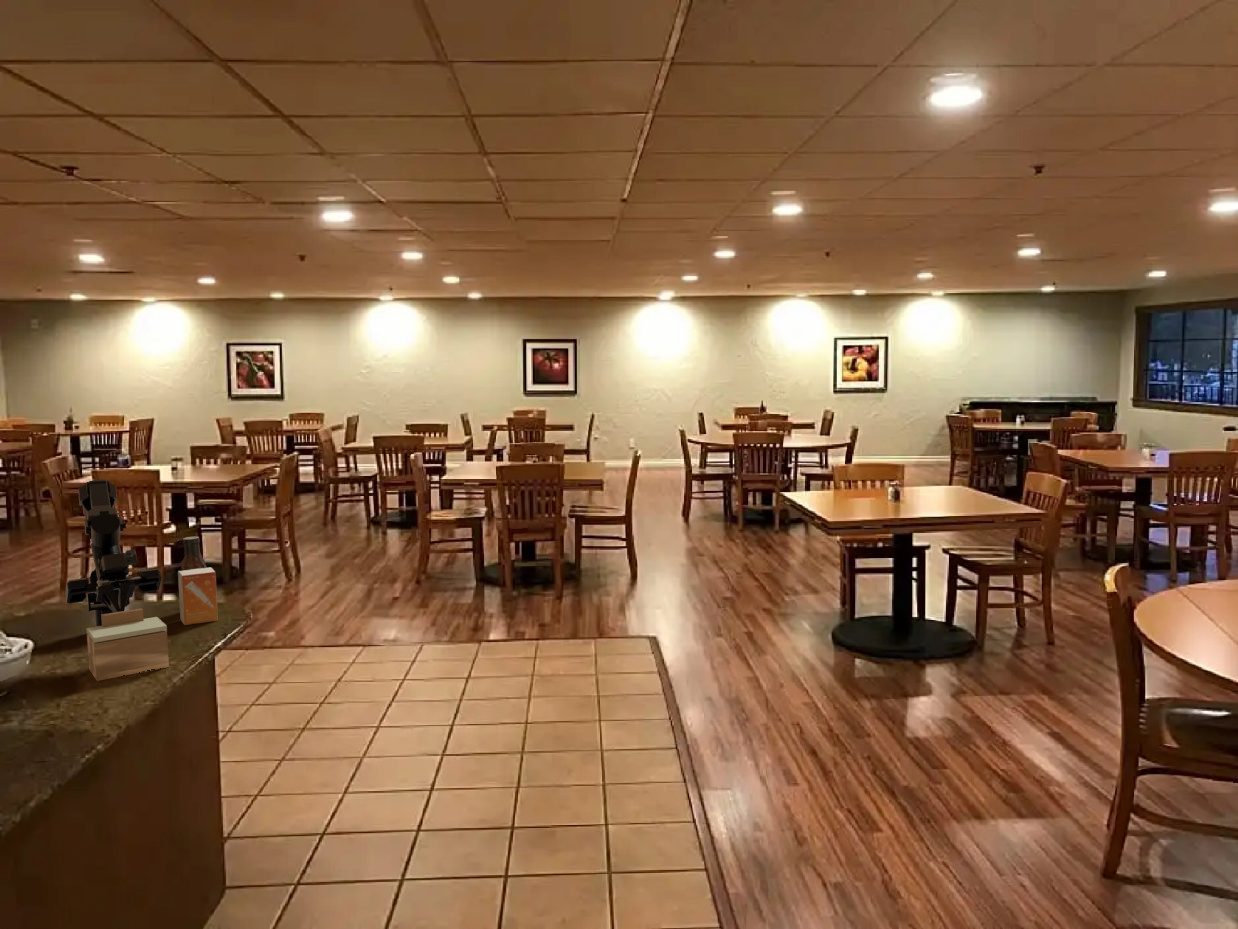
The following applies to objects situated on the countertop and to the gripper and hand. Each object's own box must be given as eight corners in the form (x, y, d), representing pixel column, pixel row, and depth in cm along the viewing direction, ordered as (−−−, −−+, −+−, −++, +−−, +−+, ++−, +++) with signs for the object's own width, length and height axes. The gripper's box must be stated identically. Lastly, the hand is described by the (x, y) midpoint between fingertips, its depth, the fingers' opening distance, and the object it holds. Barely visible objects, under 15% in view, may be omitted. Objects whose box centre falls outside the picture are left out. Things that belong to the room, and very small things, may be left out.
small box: (184, 626, 236) (181, 575, 235) (180, 620, 241) (177, 570, 240) (218, 621, 241) (215, 571, 239) (213, 615, 246) (211, 566, 244)
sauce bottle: (215, 608, 252) (211, 536, 250) (198, 615, 246) (193, 540, 244) (196, 606, 254) (191, 534, 252) (178, 612, 248) (173, 539, 246)
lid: (86, 632, 203) (85, 617, 202) (157, 621, 211) (156, 606, 211) (94, 642, 196) (93, 626, 195) (166, 630, 204) (165, 614, 204)
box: (89, 669, 204) (86, 634, 203) (159, 656, 212) (157, 622, 211) (97, 680, 197) (94, 643, 196) (169, 666, 205) (166, 631, 204)
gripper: (63, 544, 203) (75, 604, 196) (157, 533, 215) (172, 590, 207) (60, 573, 210) (72, 632, 203) (151, 561, 222) (165, 617, 214)
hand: (121, 617), depth 207 cm, fingers closed, pressing on lid
